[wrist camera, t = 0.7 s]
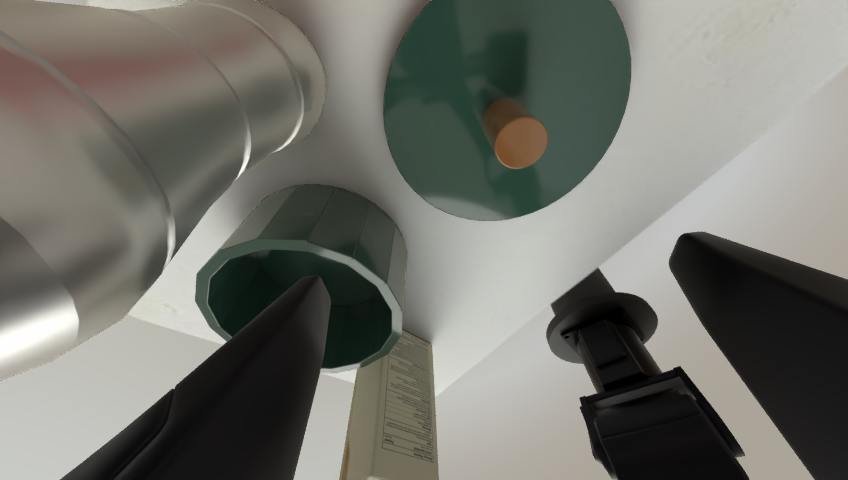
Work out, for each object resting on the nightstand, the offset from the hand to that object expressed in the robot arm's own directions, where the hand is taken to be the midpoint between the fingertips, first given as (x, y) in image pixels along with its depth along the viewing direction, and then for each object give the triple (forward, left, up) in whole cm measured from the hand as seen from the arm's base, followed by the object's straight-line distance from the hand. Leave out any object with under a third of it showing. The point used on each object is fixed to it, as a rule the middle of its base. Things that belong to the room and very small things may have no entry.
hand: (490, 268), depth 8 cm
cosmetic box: (-13, +18, -13) cm, 26 cm away
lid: (-1, -2, -12) cm, 13 cm away
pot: (-1, +14, -13) cm, 19 cm away
